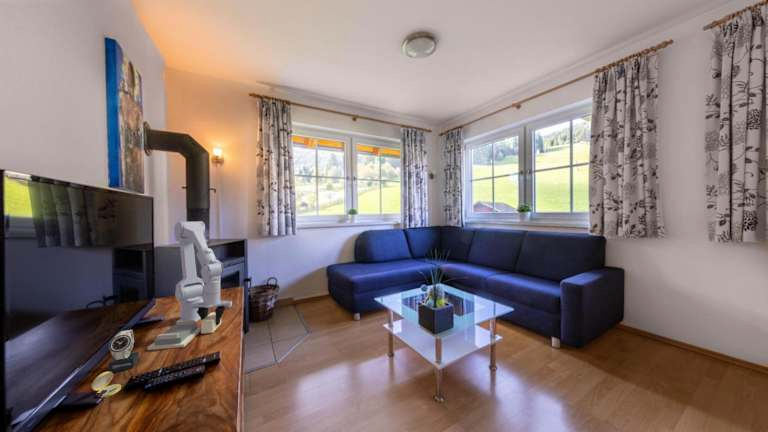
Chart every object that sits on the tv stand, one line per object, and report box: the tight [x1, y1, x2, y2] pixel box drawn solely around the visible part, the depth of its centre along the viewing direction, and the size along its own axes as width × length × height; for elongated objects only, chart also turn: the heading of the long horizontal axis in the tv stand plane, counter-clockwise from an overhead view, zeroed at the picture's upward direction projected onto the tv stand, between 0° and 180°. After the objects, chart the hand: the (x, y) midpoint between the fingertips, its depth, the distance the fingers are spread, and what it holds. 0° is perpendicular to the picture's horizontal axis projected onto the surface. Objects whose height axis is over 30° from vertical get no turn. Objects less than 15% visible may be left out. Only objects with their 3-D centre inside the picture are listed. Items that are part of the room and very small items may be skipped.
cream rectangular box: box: [200, 311, 222, 335], centre depth 106 cm, size 9×4×5 cm, turn 13°
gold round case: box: [91, 371, 122, 398], centre depth 69 cm, size 4×5×5 cm
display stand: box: [147, 320, 201, 351], centre depth 97 cm, size 14×11×4 cm
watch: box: [107, 329, 140, 374], centre depth 79 cm, size 6×8×11 cm
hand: (211, 324), depth 106 cm, fingers closed on cream rectangular box, 4 cm apart
